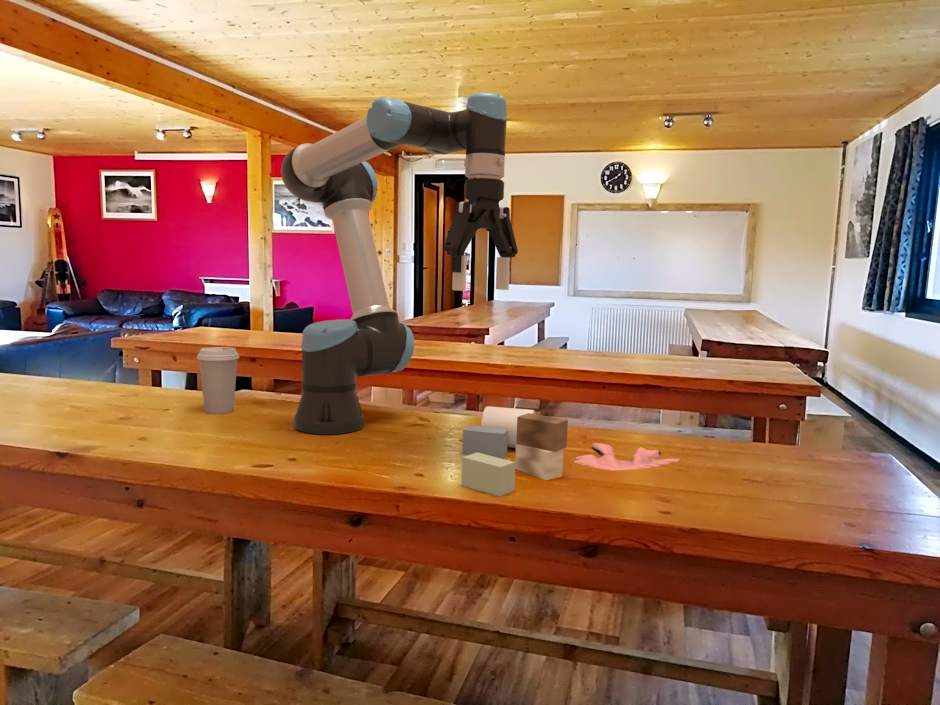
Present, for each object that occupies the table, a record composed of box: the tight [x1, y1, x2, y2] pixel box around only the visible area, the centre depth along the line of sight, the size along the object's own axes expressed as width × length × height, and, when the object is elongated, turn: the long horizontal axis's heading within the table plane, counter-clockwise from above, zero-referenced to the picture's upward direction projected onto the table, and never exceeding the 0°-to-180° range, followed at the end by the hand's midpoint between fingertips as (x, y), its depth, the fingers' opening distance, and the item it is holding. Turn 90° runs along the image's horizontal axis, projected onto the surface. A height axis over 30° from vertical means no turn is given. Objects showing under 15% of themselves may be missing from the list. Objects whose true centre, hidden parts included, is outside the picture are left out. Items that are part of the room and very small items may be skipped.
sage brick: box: [461, 452, 516, 497], centre depth 112 cm, size 8×4×5 cm, turn 51°
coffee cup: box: [196, 346, 240, 415], centre depth 162 cm, size 10×10×15 cm
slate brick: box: [461, 424, 509, 459], centre depth 133 cm, size 8×4×5 cm, turn 72°
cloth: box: [573, 442, 680, 471], centre depth 134 cm, size 20×22×2 cm
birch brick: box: [514, 444, 564, 481], centre depth 122 cm, size 8×4×5 cm, turn 38°
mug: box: [480, 405, 536, 449], centre depth 140 cm, size 12×10×8 cm
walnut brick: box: [516, 413, 569, 452], centre depth 121 cm, size 8×4×5 cm, turn 55°
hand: (481, 290), depth 133 cm, fingers open, 13 cm apart
